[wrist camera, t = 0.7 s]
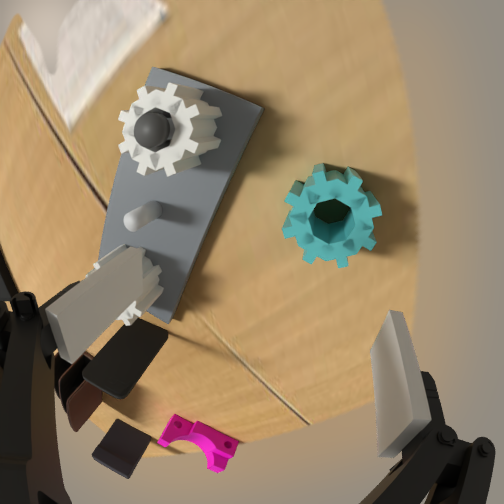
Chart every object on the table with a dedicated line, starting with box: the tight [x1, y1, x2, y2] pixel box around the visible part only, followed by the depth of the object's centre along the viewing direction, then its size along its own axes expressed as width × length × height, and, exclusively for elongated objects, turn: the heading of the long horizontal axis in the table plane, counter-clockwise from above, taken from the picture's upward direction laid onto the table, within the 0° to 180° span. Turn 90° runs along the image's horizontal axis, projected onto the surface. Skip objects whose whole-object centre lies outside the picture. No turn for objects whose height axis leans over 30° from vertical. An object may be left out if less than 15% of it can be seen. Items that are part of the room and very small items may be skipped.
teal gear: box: [282, 163, 382, 268], centre depth 28 cm, size 9×9×6 cm
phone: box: [82, 318, 168, 399], centre depth 38 cm, size 7×1×15 cm, turn 77°
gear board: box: [86, 67, 265, 326], centre depth 32 cm, size 32×14×9 cm, turn 155°
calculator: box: [92, 419, 151, 479], centre depth 59 cm, size 11×4×15 cm, turn 73°
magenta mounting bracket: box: [157, 414, 239, 473], centre depth 53 cm, size 15×6×8 cm, turn 60°
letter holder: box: [54, 351, 102, 432], centre depth 53 cm, size 10×20×14 cm, turn 156°
